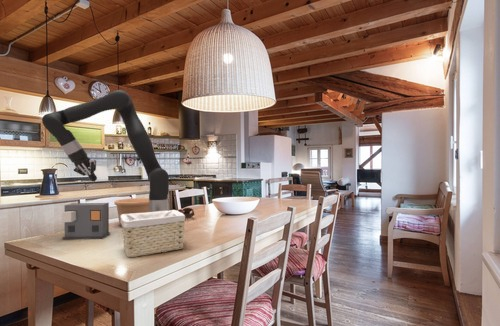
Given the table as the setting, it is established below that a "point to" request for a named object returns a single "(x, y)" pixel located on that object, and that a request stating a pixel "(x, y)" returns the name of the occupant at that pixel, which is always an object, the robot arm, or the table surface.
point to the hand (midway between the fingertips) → (94, 180)
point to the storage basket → (152, 232)
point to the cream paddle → (69, 216)
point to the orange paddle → (96, 215)
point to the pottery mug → (187, 212)
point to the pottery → (132, 206)
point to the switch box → (87, 221)
